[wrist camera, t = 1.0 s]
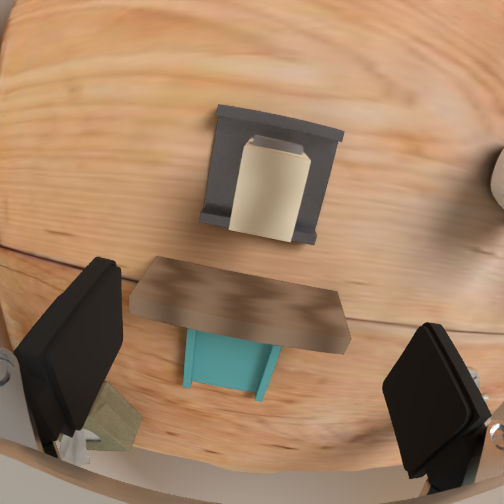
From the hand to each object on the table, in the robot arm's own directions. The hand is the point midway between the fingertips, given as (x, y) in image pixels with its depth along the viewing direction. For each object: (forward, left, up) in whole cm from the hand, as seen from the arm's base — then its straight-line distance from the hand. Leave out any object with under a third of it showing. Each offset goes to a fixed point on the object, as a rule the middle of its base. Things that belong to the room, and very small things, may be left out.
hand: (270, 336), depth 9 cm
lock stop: (0, 0, -22) cm, 22 cm away
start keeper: (0, 0, -22) cm, 22 cm away
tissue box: (+23, +45, -23) cm, 55 cm away
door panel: (0, +12, -22) cm, 25 cm away
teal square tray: (0, +24, -22) cm, 32 cm away
